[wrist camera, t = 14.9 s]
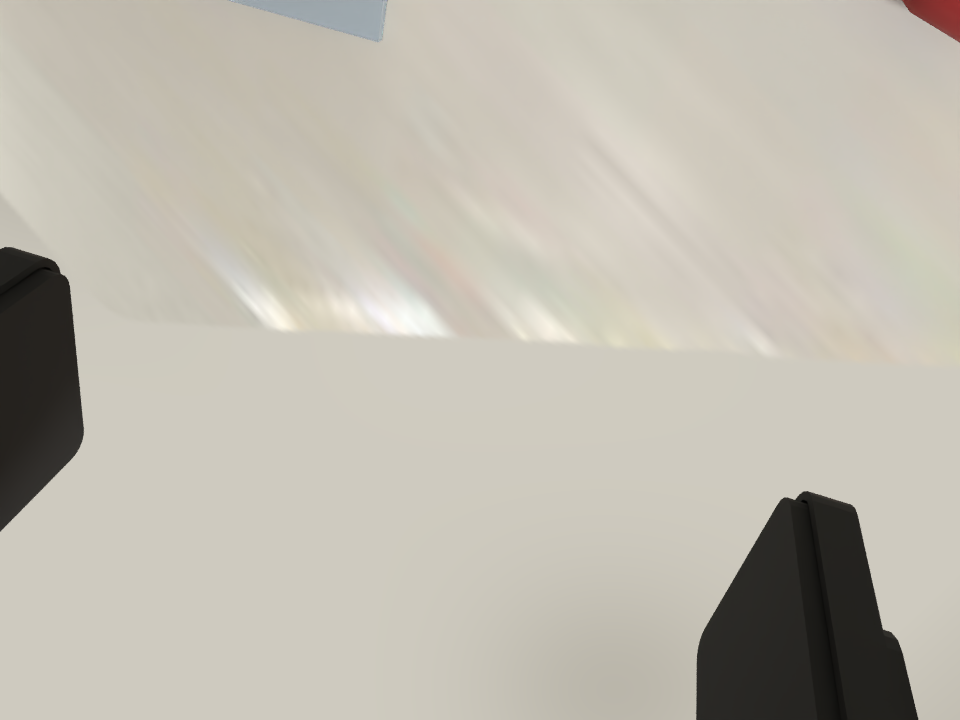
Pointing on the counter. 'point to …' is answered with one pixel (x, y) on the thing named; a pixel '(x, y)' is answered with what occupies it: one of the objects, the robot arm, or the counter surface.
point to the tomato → (938, 14)
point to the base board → (331, 14)
